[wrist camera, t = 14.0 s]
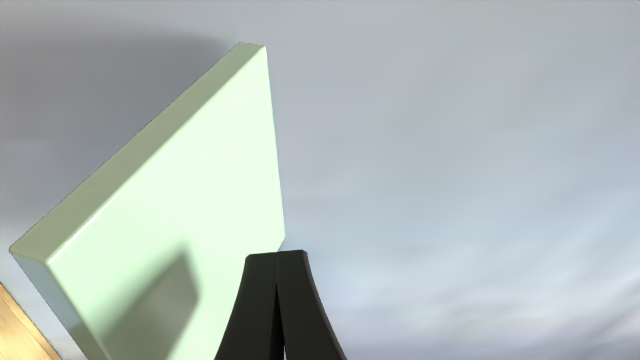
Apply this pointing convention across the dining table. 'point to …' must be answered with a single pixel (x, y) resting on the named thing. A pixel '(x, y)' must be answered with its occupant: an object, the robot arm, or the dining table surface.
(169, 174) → the sage coaster
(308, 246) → the dining table surface
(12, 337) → the coaster basket
